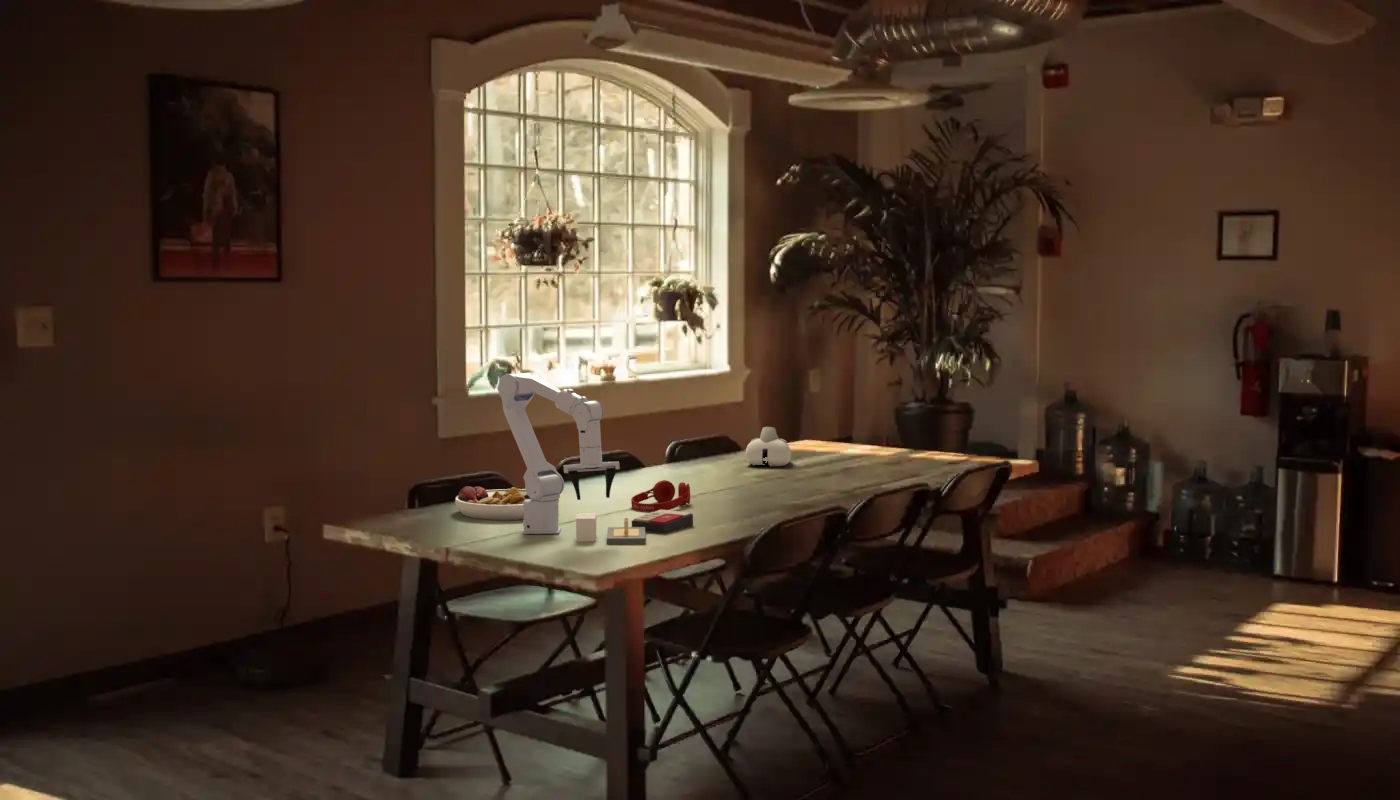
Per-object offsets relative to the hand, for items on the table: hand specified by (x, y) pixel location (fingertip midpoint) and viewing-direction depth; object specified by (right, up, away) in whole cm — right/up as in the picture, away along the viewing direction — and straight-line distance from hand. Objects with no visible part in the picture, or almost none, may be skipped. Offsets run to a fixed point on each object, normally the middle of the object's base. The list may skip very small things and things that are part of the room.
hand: (593, 498), depth 358 cm
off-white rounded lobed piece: (+54, +2, +148) cm, 157 cm away
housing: (-2, -11, +1) cm, 11 cm away
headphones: (+16, -7, +52) cm, 55 cm away
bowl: (-28, -8, +41) cm, 50 cm away
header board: (+9, -11, +2) cm, 14 cm away
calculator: (+18, -10, +17) cm, 27 cm away
